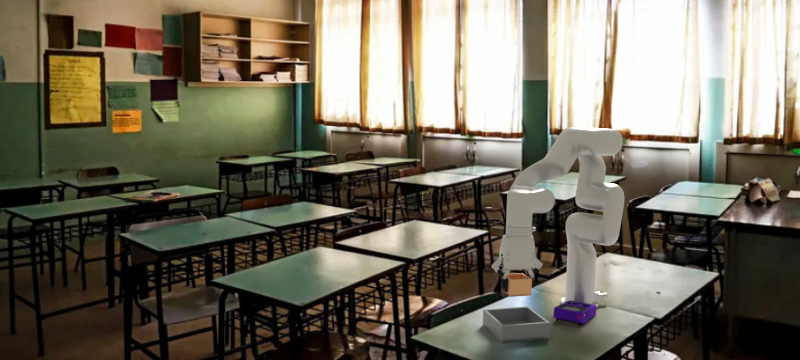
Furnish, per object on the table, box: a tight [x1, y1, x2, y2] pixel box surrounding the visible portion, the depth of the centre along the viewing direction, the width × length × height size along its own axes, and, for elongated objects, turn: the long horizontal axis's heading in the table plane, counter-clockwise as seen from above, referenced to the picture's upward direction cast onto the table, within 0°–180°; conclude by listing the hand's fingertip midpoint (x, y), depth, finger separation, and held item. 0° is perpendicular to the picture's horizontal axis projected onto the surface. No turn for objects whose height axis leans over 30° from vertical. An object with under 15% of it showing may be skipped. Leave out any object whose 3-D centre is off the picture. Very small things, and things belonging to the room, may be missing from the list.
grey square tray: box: [482, 305, 551, 344], centre depth 203 cm, size 15×15×5 cm
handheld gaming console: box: [553, 300, 598, 327], centre depth 217 cm, size 9×5×15 cm
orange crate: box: [501, 272, 533, 298], centre depth 201 cm, size 7×7×5 cm
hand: (516, 289), depth 202 cm, fingers closed on orange crate, 6 cm apart
